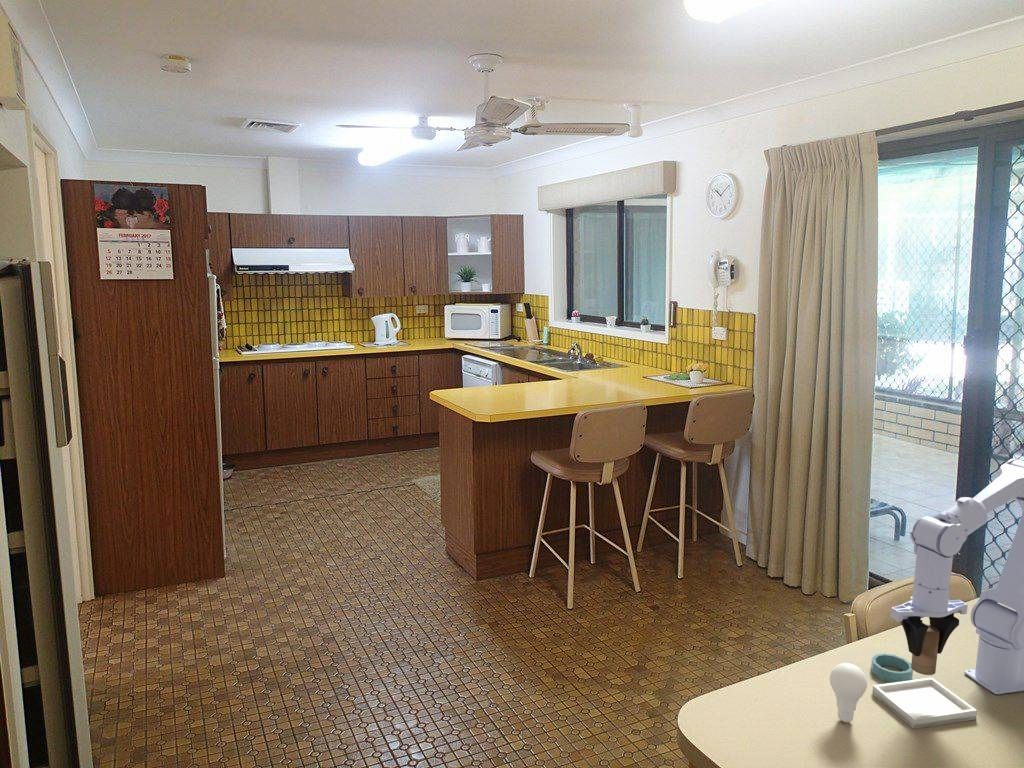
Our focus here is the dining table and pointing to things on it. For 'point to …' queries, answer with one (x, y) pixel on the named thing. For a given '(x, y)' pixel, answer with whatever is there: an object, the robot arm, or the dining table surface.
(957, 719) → the tray
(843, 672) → the lightbulb
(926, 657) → the dowel
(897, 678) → the teal ring
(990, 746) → the dining table surface
